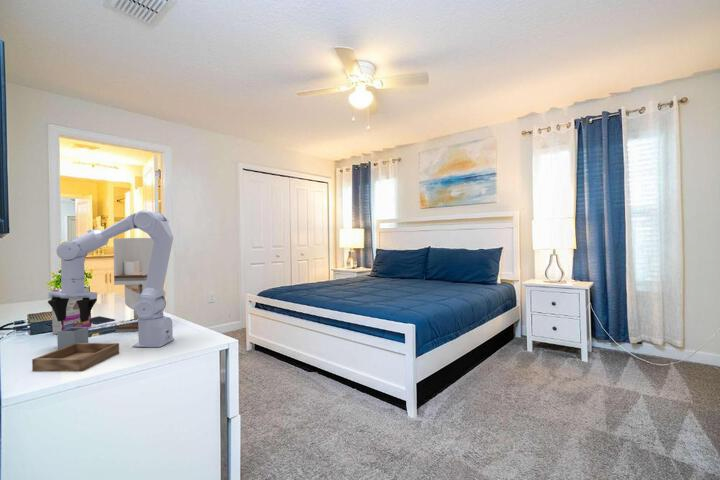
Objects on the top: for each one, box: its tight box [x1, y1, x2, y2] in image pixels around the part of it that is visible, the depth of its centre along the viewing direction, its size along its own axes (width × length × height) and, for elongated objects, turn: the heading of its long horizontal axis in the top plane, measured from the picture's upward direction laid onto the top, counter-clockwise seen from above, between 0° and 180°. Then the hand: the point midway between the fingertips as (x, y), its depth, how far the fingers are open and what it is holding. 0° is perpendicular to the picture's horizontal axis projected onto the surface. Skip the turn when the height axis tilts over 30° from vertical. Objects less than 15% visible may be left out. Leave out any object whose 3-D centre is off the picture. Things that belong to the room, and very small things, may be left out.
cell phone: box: [91, 315, 116, 325], centre depth 145 cm, size 7×14×1 cm, turn 62°
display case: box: [112, 237, 154, 333], centre depth 133 cm, size 11×11×35 cm
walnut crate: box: [31, 342, 120, 372], centre depth 98 cm, size 14×14×4 cm
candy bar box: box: [50, 285, 92, 336], centre depth 130 cm, size 11×5×16 cm, turn 168°
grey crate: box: [56, 327, 89, 350], centre depth 111 cm, size 5×5×6 cm
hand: (72, 320), depth 110 cm, fingers open, 7 cm apart
